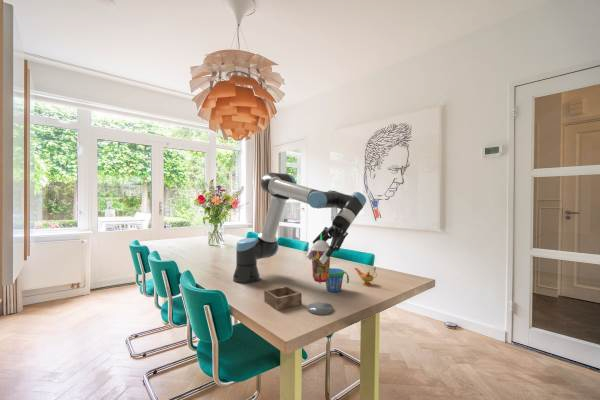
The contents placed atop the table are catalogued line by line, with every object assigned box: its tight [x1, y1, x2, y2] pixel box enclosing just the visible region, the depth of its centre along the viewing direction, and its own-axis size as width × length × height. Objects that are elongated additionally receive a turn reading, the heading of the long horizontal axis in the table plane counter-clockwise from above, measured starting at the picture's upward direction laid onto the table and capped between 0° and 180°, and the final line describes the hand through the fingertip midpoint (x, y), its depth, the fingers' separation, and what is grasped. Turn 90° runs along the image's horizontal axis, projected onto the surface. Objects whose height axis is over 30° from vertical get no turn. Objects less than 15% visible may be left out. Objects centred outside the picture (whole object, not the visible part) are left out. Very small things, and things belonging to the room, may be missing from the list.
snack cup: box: [318, 267, 350, 293], centre depth 145 cm, size 16×10×10 cm
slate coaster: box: [307, 301, 334, 316], centre depth 119 cm, size 11×11×1 cm
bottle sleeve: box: [263, 285, 303, 311], centre depth 127 cm, size 12×12×5 cm
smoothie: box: [310, 233, 331, 283], centre depth 119 cm, size 8×8×20 cm
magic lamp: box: [354, 266, 378, 287], centre depth 156 cm, size 7×18×11 cm, turn 29°
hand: (314, 260), depth 117 cm, fingers closed on smoothie, 8 cm apart
